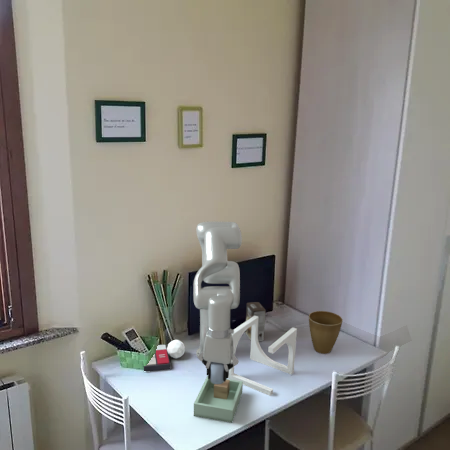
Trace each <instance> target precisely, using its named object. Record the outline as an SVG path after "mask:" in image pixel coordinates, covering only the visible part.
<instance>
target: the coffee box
mask: <svg viewBox="0 0 450 450" xmlns="http://www.w3.org/2000/svg"><path fill="white" fill-rule="evenodd" d="M266 311H267V310H266V309H265V307H264V306H263V305H262V304H261V303H260V302H259V301H254V302H253V301H251V302H247V303H246V309H245V312H246V313H245V322H246V321H247V320H249V319H250V318H252V317H253V316H254V315H255V316H258V317H259V319H258V341H259V342H263V341H264V340H265V339H264V338H265V326H266V325H265V324H266ZM251 331H252V326H251V327H249V328H248V329H247V330H246V331H245V332H244V333H245V335H246V336H247V338H248V340H250V342H251Z"/></svg>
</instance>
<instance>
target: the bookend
mask: <svg viewBox="0 0 450 450" xmlns="http://www.w3.org/2000/svg"><path fill="white" fill-rule="evenodd" d="M258 319H259V317H258V316H255V315H254V316H253V317H252V318H250V319H249V320H247V321H246V320H245V321H244V322H243V323H240V325H238V326H237V327H236V328H234V329H233V330H234V334H232V338H233V350H234V355H236V351H237V347H238V344H239V342H240V340H241V338H242V336H243V334H244V333H245V332H246V330H247V329H248V328H249V327H251V326H252V331H251V341H250V354H249V355H250V357H249V360H252V361H254V362H257V363H259V364H262V365H265V366H268V367H270V368H273V369H275V370H278V371H280V372H283V373H285V374H289V375H291V376H292V375H293V374H294V373H295V361H296V348H297V335H298V328H295V327H293V326H292V327H291V328H290V329H288V330H287V332H285V333H284V334H283V335H281V336H280V337H279V338H278V339H277V340H275V341H274V342H273V343H272V344H271V345H269V346H268V347H267V348H268V352H267V353H269V354H274V353H276V352H277V351H278V350H279V349H280V348H282V347H283V346H284V345H286V346H287V347H288V348H287V349H288V356H287V357H288V358H287V365H285V364H283V363H280V362H278V361H275V360H273V359H272V358H270V357H269V356H268V355H267V354H266V353H265V352H264V350H263V348H262V347H261V345H260V341H258ZM231 362H233V360H231ZM227 379H230V380H237V381H243V386H245V387H248V388H249V389H253V390H255V391H258V392H260V393H262V394H264V395H267V396H269V397H271V396H272V395H273V394H274V388H271V387H268V386H267V385H264V384H261V383H259V382H258V381H257V382H256V381H254V380H252V379H250V378H249V379H248V378H246V377H244V376H242V375H239V374H237V373H235V366H233V367H232V368H231V369H230V370H229V377H228V378H227Z"/></svg>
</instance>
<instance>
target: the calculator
mask: <svg viewBox="0 0 450 450" xmlns="http://www.w3.org/2000/svg"><path fill="white" fill-rule="evenodd" d="M167 347H168V345H167V344H158V346H157V349H156V353H155V354H154V355H153V357H152V358H151V360H150V361H149V363H148V364H147V365H146V366H144V371H150V372H156V371H157V372H158V371H168V370H171V360H170V355H169V354H168V351H167ZM144 371H143V372H144Z"/></svg>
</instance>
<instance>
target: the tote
mask: <svg viewBox="0 0 450 450" xmlns="http://www.w3.org/2000/svg"><path fill="white" fill-rule="evenodd" d="M226 380H230V379H228V378H227V379H226ZM243 386H244V385H243V381H237V380H230V391H229V395H228V397H227V399H220V398H214V384H213V383H212V382H211V381H210V379H208V375H206V378H205V380H204V382H203V384H202V386H201V388H200V390H199V392H198V394H197V396H196V399H195V400H194V403H193V416H194V417H197V418H202V419H208V420H214V421H219V422H224V423H231V424H232V423H233V422H234V419H235V416H236V413H237V410H238V407H239V404H240V401H241V398H242V395H243Z"/></svg>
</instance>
